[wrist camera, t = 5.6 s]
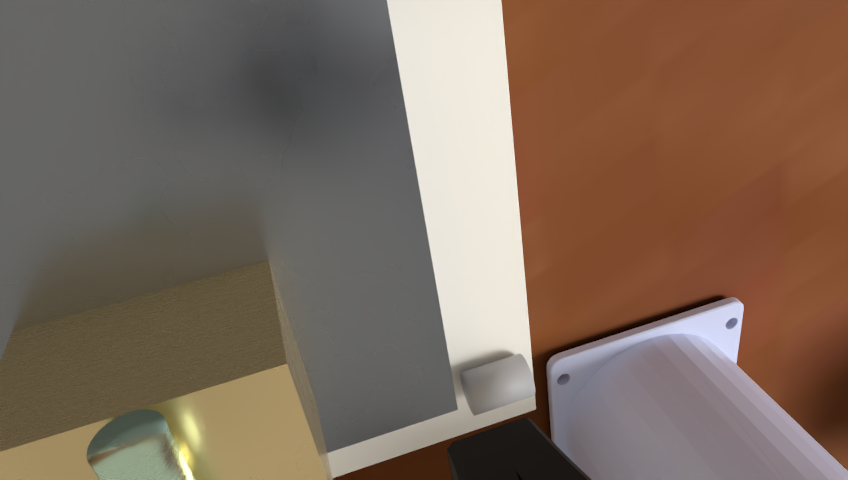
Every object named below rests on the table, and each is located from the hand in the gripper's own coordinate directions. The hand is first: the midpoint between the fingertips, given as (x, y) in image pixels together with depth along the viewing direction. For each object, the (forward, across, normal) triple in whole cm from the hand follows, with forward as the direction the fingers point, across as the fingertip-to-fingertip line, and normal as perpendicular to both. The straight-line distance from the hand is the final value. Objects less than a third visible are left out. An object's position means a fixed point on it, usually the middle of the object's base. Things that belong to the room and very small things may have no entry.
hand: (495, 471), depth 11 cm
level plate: (+9, +6, -1) cm, 11 cm away
